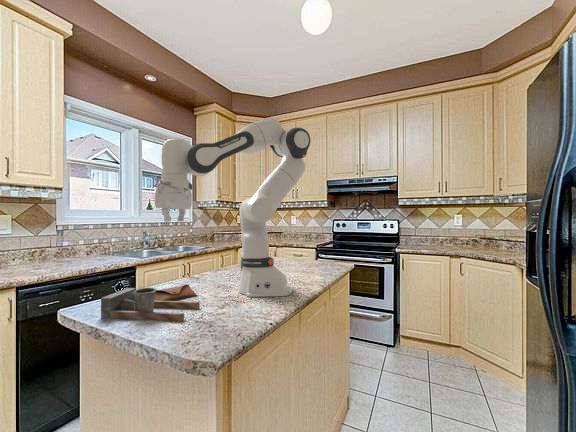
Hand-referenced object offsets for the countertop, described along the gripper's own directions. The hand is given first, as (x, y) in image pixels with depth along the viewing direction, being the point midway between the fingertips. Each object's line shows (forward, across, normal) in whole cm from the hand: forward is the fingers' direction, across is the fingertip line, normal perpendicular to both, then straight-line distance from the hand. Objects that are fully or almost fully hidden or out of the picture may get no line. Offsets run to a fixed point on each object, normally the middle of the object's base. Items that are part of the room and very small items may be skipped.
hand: (174, 221), depth 104 cm
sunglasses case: (+30, +4, +3) cm, 30 cm away
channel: (+29, -12, +1) cm, 31 cm away
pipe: (+30, -14, +4) cm, 33 cm away
